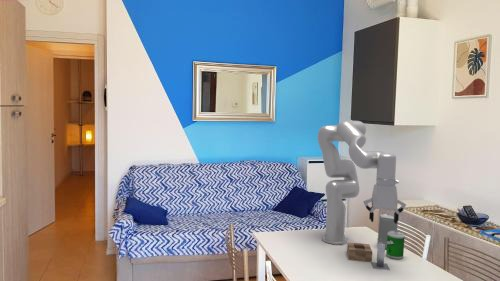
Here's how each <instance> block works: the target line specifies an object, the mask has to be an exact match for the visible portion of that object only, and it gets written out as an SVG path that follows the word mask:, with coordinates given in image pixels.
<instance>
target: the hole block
mask: <svg viewBox="0 0 500 281" xmlns="http://www.w3.org/2000/svg"><path fill="white" fill-rule="evenodd" d="M346 244H347V245H346V254H347V257H348V260H349V261H357V262H369V263H371V262H373V249H372V247H371V244H370V243H360V242H359V243H358V242H348V241H347V243H346Z"/></svg>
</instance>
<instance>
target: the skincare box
mask: <svg viewBox="0 0 500 281" xmlns="http://www.w3.org/2000/svg"><path fill="white" fill-rule="evenodd" d="M398 224H399V220H398V221H397V224H395V223H394V215H389V214H381V213H380V214H379V221H378V232H377V243H376V245H377V246H378V243H379V242H382V243H385V250H386V248H387V233H388V232H389V231H391V230H396V231H398Z"/></svg>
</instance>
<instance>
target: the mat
mask: <svg viewBox="0 0 500 281" xmlns="http://www.w3.org/2000/svg"><path fill="white" fill-rule="evenodd" d="M370 264H371V268H372V269H373V270H374V269H375V270H387V271H391V269H390V267H389V265H388V263H385V262H384V267H378V266H377V262H373V261H372V262H370Z"/></svg>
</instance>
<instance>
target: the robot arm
mask: <svg viewBox="0 0 500 281" xmlns="http://www.w3.org/2000/svg"><path fill="white" fill-rule="evenodd" d="M366 132H367V127H366V125H365V124H364V122H362V121H360V120H342V121H340V122H339V123H337V124H336V125H335V124H331V125H330V124H328V125H327V124H326V125H324V126H321V127H320V128H319V130H318V132H317V143H318V146H319V149H320V150H321V154H322V161H323V165H324V171H325V174H326V177H328V178H331V179H332V178H334V179H333V180H330V181H328V182H327V183H326V185H325V194H326V195H325V196H326V213H325V214H326V216H325V218H326V219H325V234H324V235H323V236H322V237H321V239H322V241H323V242H325V243H327V244H331V245H344V244H345V245H346V244H347V242H348V239H347V238H346V237H345V227H346V209H347V208H346V205H345V203H344V201H343V199H351V198H352V199H354V198H357V197H358V196H359V194H360V185H359V179H358V175H357V174H358V173H357V169H356V166H357V167H358V168H360V169H365V170H366V169H376V181H375V182H376V183H375V184H374V185H373V188H372V195H371V197H370V198H369V199H366V200H364V201H363V204H364V206H365V208H366V210H367V211H368V212H369V218H368V219H369V220H370V221H371V222H372V223H373V222H374V219H375V218H374V216H375V215H374V214H375V213H374V211H375V210H376V209H378V210H391V211H392V210H393V211H394V213H393V216H394V223H395V224H397V221H398V222H399V218H400V217H399V216H400V215H401V213H402V212H403V211H404V210H405V208H406V206H407V204H406V203H404V202H403V201H401V200H399V199H398V189H397V186H396V184H399V180H397V179H396V170H397V169H396V168H397V156H396V155H395V154H394V153H386V152H384V151H368V150H367V151H363V149H362V148H363V147H364V146H365V145H366V141H367V138H366V136H365V135H366ZM333 142H341V143H342V142H344V143H346V144H347V145H348V146H349V147H348V154H349V158H350V159H351V160H350V159H341V157H340V152H339V149H338V148H337V146H336V145H335V144H334V143H333ZM336 178H337V179H336ZM338 178H343V179H338ZM369 203H371V206H369ZM398 205H401V206H400V207H399V208H398Z"/></svg>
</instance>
